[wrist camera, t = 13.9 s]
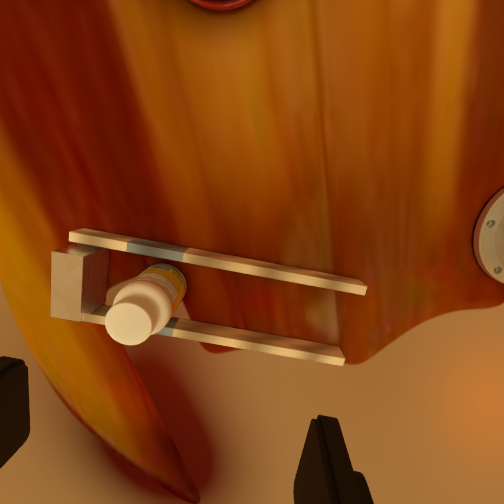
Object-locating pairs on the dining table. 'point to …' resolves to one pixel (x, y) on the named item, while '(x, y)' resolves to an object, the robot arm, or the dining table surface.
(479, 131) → the dining table surface
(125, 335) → the supplement bottle
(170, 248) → the guide channel
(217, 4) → the plant pot
